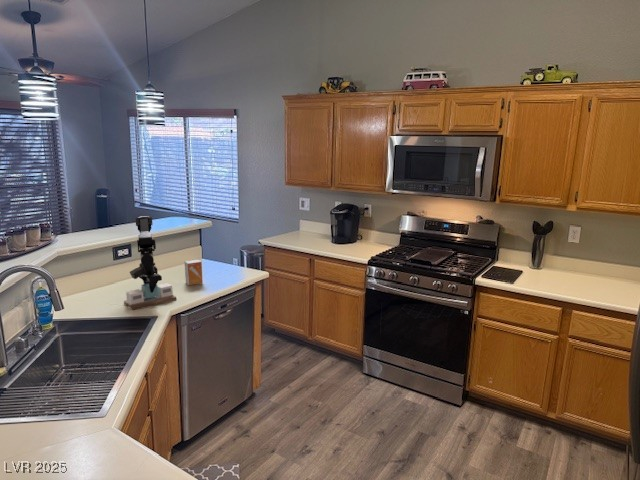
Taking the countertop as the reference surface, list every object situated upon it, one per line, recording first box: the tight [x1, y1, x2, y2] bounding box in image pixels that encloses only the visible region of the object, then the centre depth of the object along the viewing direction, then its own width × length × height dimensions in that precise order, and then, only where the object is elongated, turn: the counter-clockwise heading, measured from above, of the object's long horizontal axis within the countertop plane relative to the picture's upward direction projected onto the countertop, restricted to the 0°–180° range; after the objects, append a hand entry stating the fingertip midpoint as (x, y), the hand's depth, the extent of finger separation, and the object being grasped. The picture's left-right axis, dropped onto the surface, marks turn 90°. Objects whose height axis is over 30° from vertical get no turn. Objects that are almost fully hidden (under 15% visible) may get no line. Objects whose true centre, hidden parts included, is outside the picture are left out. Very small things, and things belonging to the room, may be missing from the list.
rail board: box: [123, 295, 178, 311], centre depth 224 cm, size 12×22×2 cm, turn 132°
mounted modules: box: [125, 282, 174, 304], centre depth 223 cm, size 6×21×5 cm, turn 133°
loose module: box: [141, 283, 158, 299], centre depth 223 cm, size 5×6×6 cm
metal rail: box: [125, 294, 175, 306], centre depth 224 cm, size 6×22×1 cm, turn 133°
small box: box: [184, 259, 203, 286], centre depth 254 cm, size 8×6×13 cm
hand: (149, 291), depth 223 cm, fingers closed on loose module, 5 cm apart
